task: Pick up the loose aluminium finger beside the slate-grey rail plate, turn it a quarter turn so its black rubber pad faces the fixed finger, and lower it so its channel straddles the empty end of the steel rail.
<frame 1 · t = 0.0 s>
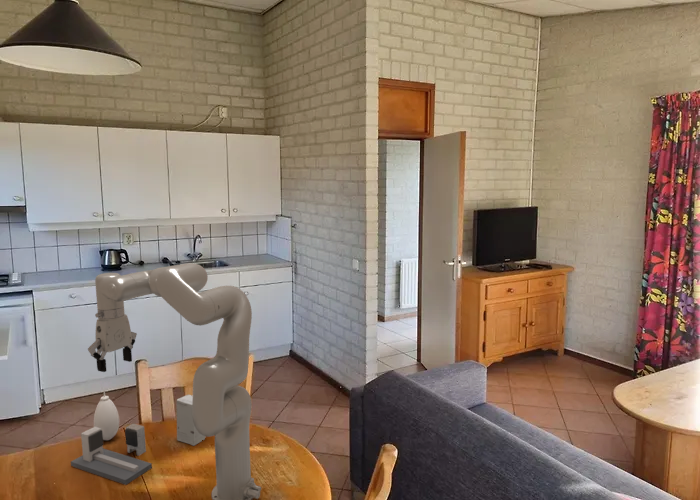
hand: (115, 365, 165), 31 cm above the table, fingers open, 9 cm apart
left finger: (136, 451, 174), on the table
rail base: (111, 467, 165), on the table
skincare box: (192, 440, 181), on the table
sauce bottle: (108, 439, 182), on the table
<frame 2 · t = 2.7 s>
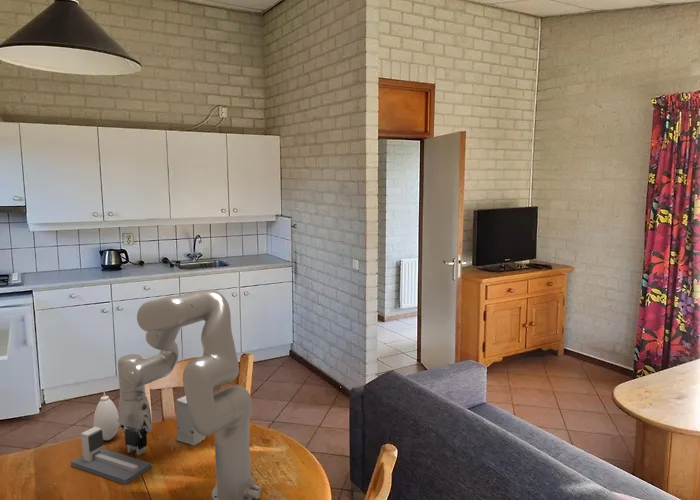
hand: (136, 444, 173), 2 cm above the table, fingers open, 5 cm apart
left finger: (136, 451, 174), on the table, touching gripper
everything else where it was.
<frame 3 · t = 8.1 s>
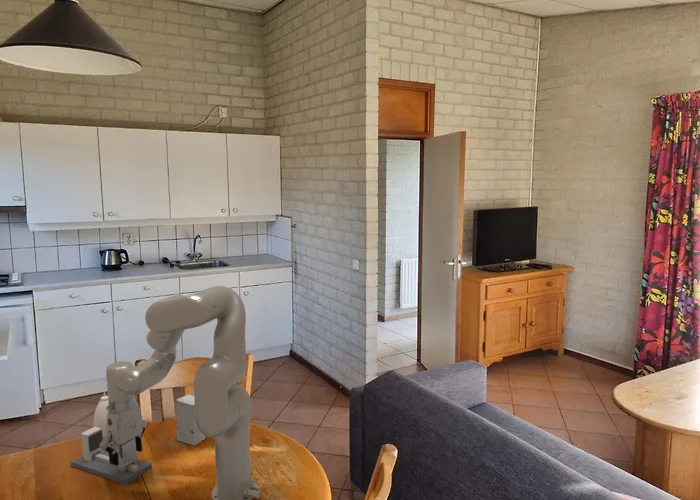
hand: (126, 457, 161), 5 cm above the table, fingers open, 8 cm apart
left finger: (127, 467, 161), point 1 cm above the table, touching rail base
everything else where it was.
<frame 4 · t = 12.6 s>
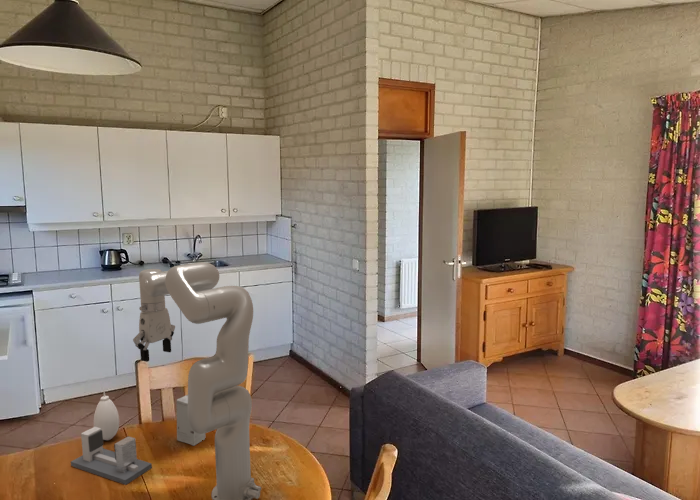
hand: (156, 356, 176), 30 cm above the table, fingers open, 9 cm apart
nothing on the table moved.
at the end: left finger 0.3 cm from the target spot on the rail base, point 1.5 cm above the rail base's base; left finger tilted 0°; the gripper is holding nothing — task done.
